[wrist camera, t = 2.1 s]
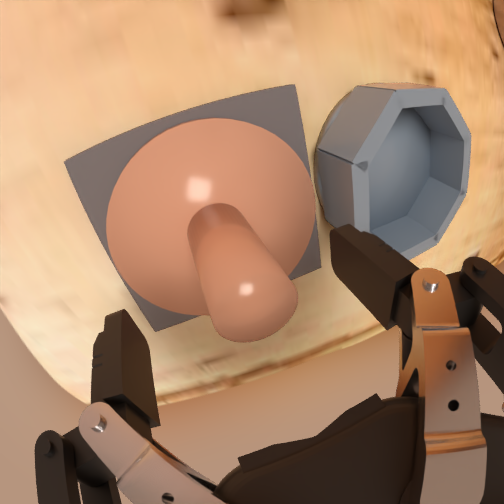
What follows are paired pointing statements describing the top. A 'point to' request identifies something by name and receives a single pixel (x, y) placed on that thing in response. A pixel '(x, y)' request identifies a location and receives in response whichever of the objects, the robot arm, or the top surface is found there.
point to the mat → (128, 143)
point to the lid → (214, 224)
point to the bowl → (394, 163)
